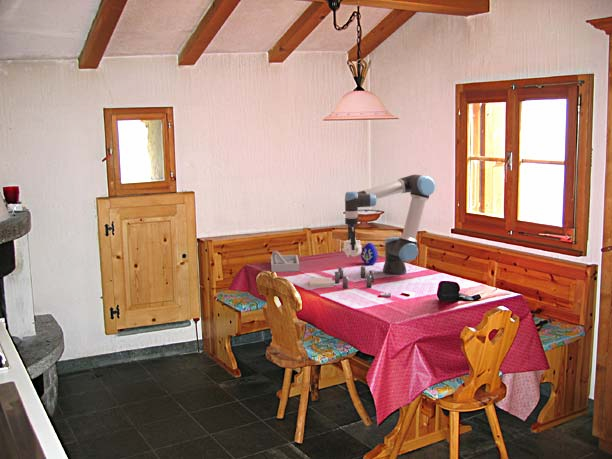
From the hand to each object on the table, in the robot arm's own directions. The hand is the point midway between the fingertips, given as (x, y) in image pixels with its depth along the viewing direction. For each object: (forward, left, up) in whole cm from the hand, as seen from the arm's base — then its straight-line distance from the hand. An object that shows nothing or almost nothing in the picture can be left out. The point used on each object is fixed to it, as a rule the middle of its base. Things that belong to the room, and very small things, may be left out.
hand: (351, 253), depth 419 cm
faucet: (+42, -51, -19) cm, 69 cm away
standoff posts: (-2, 0, -19) cm, 19 cm away
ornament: (-19, -51, -19) cm, 58 cm away
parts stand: (+19, +2, -19) cm, 27 cm away
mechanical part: (0, 0, -3) cm, 3 cm away
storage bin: (+39, -52, -19) cm, 68 cm away
